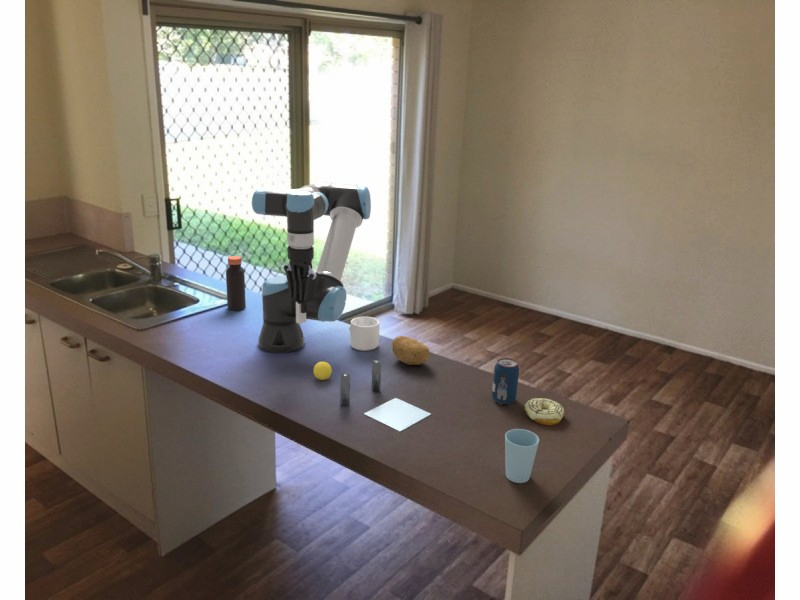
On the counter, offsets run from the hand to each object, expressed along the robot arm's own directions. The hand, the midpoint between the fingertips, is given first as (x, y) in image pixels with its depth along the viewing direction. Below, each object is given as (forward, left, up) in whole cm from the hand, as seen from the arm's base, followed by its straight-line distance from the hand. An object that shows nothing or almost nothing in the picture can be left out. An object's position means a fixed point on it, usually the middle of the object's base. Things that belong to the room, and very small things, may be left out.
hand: (301, 322), depth 196 cm
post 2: (+25, +6, -16) cm, 31 cm away
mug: (0, +28, -16) cm, 32 cm away
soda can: (+55, +28, -16) cm, 64 cm away
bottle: (-59, +18, -16) cm, 63 cm away
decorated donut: (+68, +28, -16) cm, 76 cm away
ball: (+9, 0, -13) cm, 16 cm away
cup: (+78, -2, -16) cm, 80 cm away
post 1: (+25, -6, -16) cm, 31 cm away
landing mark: (+39, 0, -16) cm, 42 cm away
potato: (+20, +28, -16) cm, 38 cm away
